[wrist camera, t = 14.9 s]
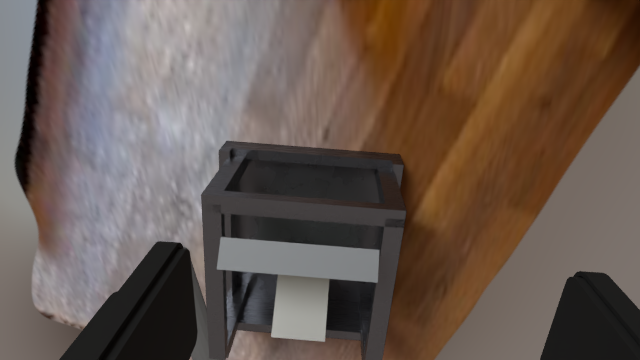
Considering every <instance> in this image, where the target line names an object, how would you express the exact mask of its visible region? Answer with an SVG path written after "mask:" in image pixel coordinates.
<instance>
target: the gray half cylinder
mask: <svg viewBox="0 0 640 360" xmlns="http://www.w3.org/2000/svg"><path fill="white" fill-rule="evenodd" d="M183 249H187V248H183ZM191 268H192V279H193V289H194V299H195V309H196V319H197V330H198V334H197V341H196V345H195V347H194V350H193V352H192V354H191V356H192V359H193V360H221V359H209V346H208V325H207V308H206V305H205V302H204V299H203V296H202V293H201V290H200V287H199V283H198V280H197V277H196V274H195V271H194V268H193V265H192V262H191Z"/></svg>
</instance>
